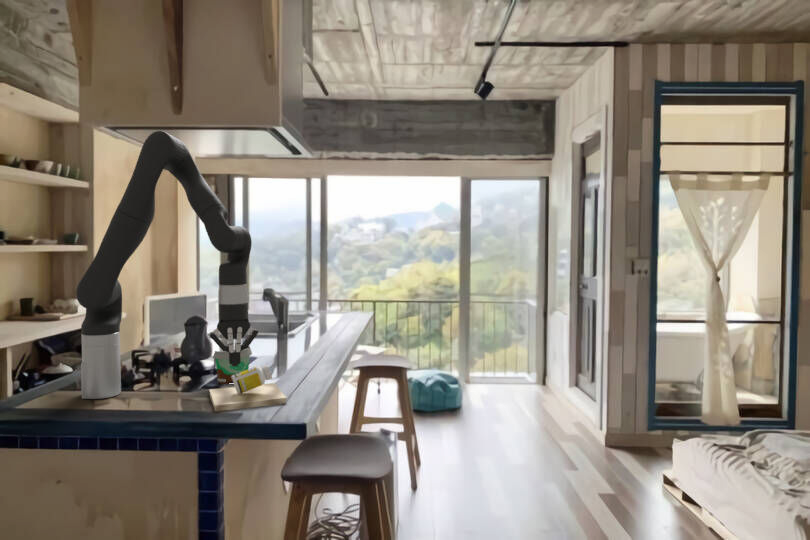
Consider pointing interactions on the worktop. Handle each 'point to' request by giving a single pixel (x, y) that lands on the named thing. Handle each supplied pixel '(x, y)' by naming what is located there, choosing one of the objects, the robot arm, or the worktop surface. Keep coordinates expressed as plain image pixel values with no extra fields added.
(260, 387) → the birch board
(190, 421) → the worktop surface
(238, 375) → the supplement bottle
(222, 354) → the food container
